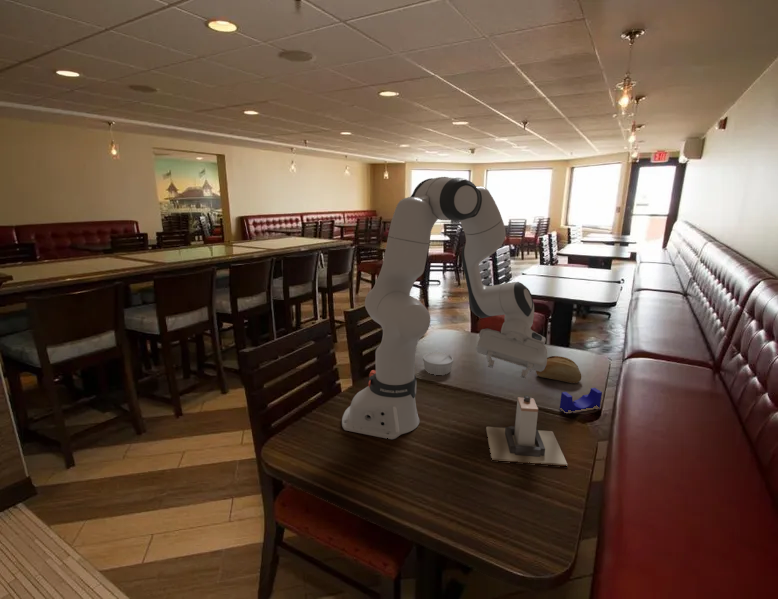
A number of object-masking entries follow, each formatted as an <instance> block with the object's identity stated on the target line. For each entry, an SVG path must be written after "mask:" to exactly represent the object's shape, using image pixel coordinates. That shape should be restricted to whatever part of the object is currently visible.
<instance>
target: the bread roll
mask: <svg viewBox="0 0 778 599" xmlns="http://www.w3.org/2000/svg"><path fill="white" fill-rule="evenodd" d="M535 374H536V375H537V376H539V377H540V378H545V379H550V380H554V381H555V380H556V381H559V382H560V381H561V382H563V383H564V382H565V383H569V384H578V383H580V381H581V380H582V373H581V371H580V369H579V366H578V365H577V364H576V362H574V360H572V359H570V358H568V357H566V356H565V357H564V356H559V355H551V356H547V364H546V367H545V369H544V370H543V371H541V372H539V371H536V370H535Z"/></svg>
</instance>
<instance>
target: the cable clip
mask: <svg viewBox="0 0 778 599" xmlns="http://www.w3.org/2000/svg"><path fill="white" fill-rule="evenodd" d="M602 394H603V392H602V391H601V390H599V389H598V388H596V387H591V388H590V390H589V393H588V394H584V395H582V396H581V397H579V398H578V399H575V400H573V396H572V395H571V394H569V393H568V392H567V391H563V392H561V396H560V403H559V409H560V408H562V409H563V410H564V411H565V412H568V410H571V411H575V410H581V409H586V408H593V407H594V406H596V405H597V406H598V407H599V408H600V409H601V401H602V396H603V395H602Z"/></svg>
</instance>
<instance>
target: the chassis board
mask: <svg viewBox="0 0 778 599" xmlns="http://www.w3.org/2000/svg"><path fill="white" fill-rule="evenodd" d="M485 431H486V436H487V437H488V438H487V442H488V448H490V449H489V453H491V454H490V459H491V458H492V460H499V461H518V462H528V463H529V462H530V463H541V464H551V465H552V464H553V465H566V466H567V467H568V465H569V464H568V463H567V460H566V458H565V456H564V453H563V451H562V450H561V447H560V444H559V443H558V440H557V438H556V436H555V434H554V431H552V430H541V429H540V430H538V429H537V428H536V435H535V444H534V447H532V446H519V445H516V443H515V439H514V432H515V425H514V426H513V425H509V426H505V427H496V426H495V427H494V426H486V427H485ZM492 460H491V461H492Z"/></svg>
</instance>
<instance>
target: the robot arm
mask: <svg viewBox="0 0 778 599" xmlns="http://www.w3.org/2000/svg"><path fill="white" fill-rule="evenodd" d="M437 221H453V222H460V225H461V227H462V230H463V232H464V237H465V244H464V245H463V246H462V248H461V263H462V264H461V265H462V267H463V273H464V278H465V282H466V286H467V287H466V288H467V292H468V301H469V307H470V311H471V312H472V313H473V314H474V315H475V316H477V317H478V318H480V319H484V318H485V319H486V318H490V317H494V316H504V322H503V323H502V325H501V329H500V331H498V330H494V329H491V328H482V329H480V331H479V334H478V337H479V338H478V342H477V344H476V347H475V350H476V353H478V354H480V355H484V356H485V357H486V361H487V363H488V364H487V368H490V369H493V367H494V365H495V360H493V358H494V359H497V360H500V361H503V362H507V363H510V364H514V365H516V366H518V367H519V366H520V367H523V368H526V369H522V370H521V372H520V378H522V379H526V378H527V376H528V374H530V372H532V370H533V371H535V372H536V371H539V372H541V371H543V370H544V369H545V367H546V364H547V358H548V348H547V347H546V339H547V338H546V337H545V336H543V335H541V334H539V333H538V332H536V331H534V330H532V326H533V323H534V317H535V304H534V300H533V299H534V298H533V296H532V293H531V291H530V289H529V288H528V287H527V286H526V285H524V284H523V283H521V282H520V281H514V282H513V281H512V282H505V283H502V284H501V283H499V284H494V285H485V284H483V280H482V276H481V269H480V263H481V262H483V261H484V260H486V259H487V258H488V257H490V256H492V255H493V254H494V253H496V252H497V251H498V250H499V249H500V248H501V247H502V245H503V243H504V242H505V239H506V236H507V235H506V233H507V232H506V228H505V223H504V220H503V217H502V215H501V212H500V209H499V207H498V205H497V203H496V201H495V200H494V198H493V196H492V194H491V192H490V191H489V190H488V189H487V188H486V187H484V186H481V185H475V184H474V183H473V182H472V181H471V180H469V179H466V178H463V177H448V176H441V177H440V176H438V177H434V178H427V179H424V180H422V181H421V182H420V183H418V184H417V186H415V188H414V190H413V191H412V194H411V196H408V197H405V198H402V199H401V200H399V202H398V203H397V204H396V207H395V209H394V211H393V215H392V217H391V221H390V225H389V230H388V234H387V235H388V236H387V241H386V246H385V252H384V256H383V260H382V261H383V262H382V265H381V267H380V268H381V269H380V271H379V274H378V277H377V279H376V281H375V284H374V286H373V288H372V289H370V290H369V291H368V292H367V294H366V296H365V299H364V306H365V310H366V311H367V314H368V315H369V316H370V318H371V319H372V320H373V321H374V322H375V323H377V324H379V325H380V326H381V329H382V338H381V343H380V345H379V346H377V348H376V349H375V369H372V370H371V371H370V372H369V374H368V386H366V387H365V388H363V389H362V390H359V391H358V392H357V393H356V394H355V395H354V396H353V398H352V400H351V402H350V405H349V406H348V407H347V408H346V409H345V411H344V412H343V414H342V417H341V426H342V429H343V430H344V431H349V432H353V433H358V434H363V435H367V436H373V437H377V438H383V439H387V438H388V439H387V440H395V439H398V437H399V436H401V435H404V434H407V433H410V432H411V431H414V430H415V429H416V428H418V426H419V425H420V417H419V415H418V409H417V404H416V395H417V376H416V374H415V372H416V370H415V369H416V368H415V366H416V353H417V352H416V351H417V346H418V345H419V344H418V343H419V341H420V339H421V338H422V337H423V336H425V334H427V332H428V331H429V328H430V326H431V314H430V312H429V310H428V308H426V306H425V305H424V304H423V303H422V302H421V301H420V300H419V299H417V298H415V297H413V296H411V291H412V289H413V286H414V284H415V282H416V280H417V279H418V278H420V277H421V276H422V275H423V274H424V272H425V268H426V262H427V256H428V252H429V246H430V242H431V241H430V240H431V235H432V230H433V227H434V226H435V224H436V223H437Z"/></svg>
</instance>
